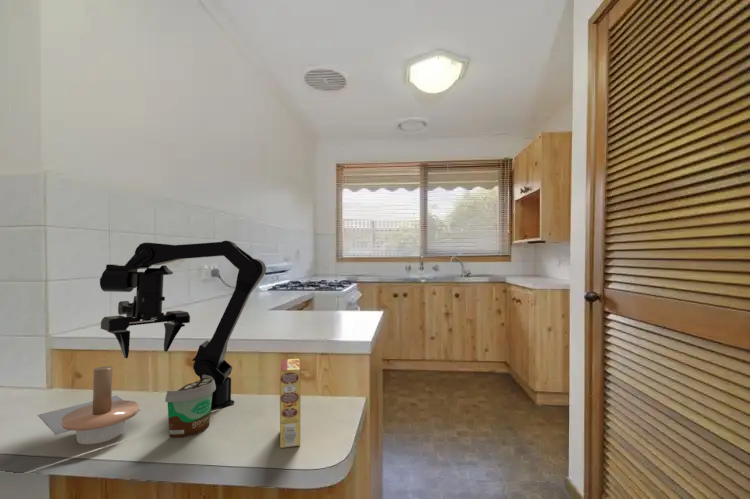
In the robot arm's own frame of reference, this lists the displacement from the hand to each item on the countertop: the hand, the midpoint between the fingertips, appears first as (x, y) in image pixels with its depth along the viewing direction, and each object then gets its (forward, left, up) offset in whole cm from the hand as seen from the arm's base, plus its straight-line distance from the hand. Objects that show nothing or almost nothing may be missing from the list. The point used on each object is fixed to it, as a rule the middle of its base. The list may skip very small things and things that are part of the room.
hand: (146, 354), depth 94 cm
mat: (+10, -6, -13) cm, 18 cm away
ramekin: (+12, +9, -14) cm, 20 cm away
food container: (-2, +22, -14) cm, 26 cm away
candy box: (-12, +41, -14) cm, 45 cm away
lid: (+12, +9, -9) cm, 18 cm away
